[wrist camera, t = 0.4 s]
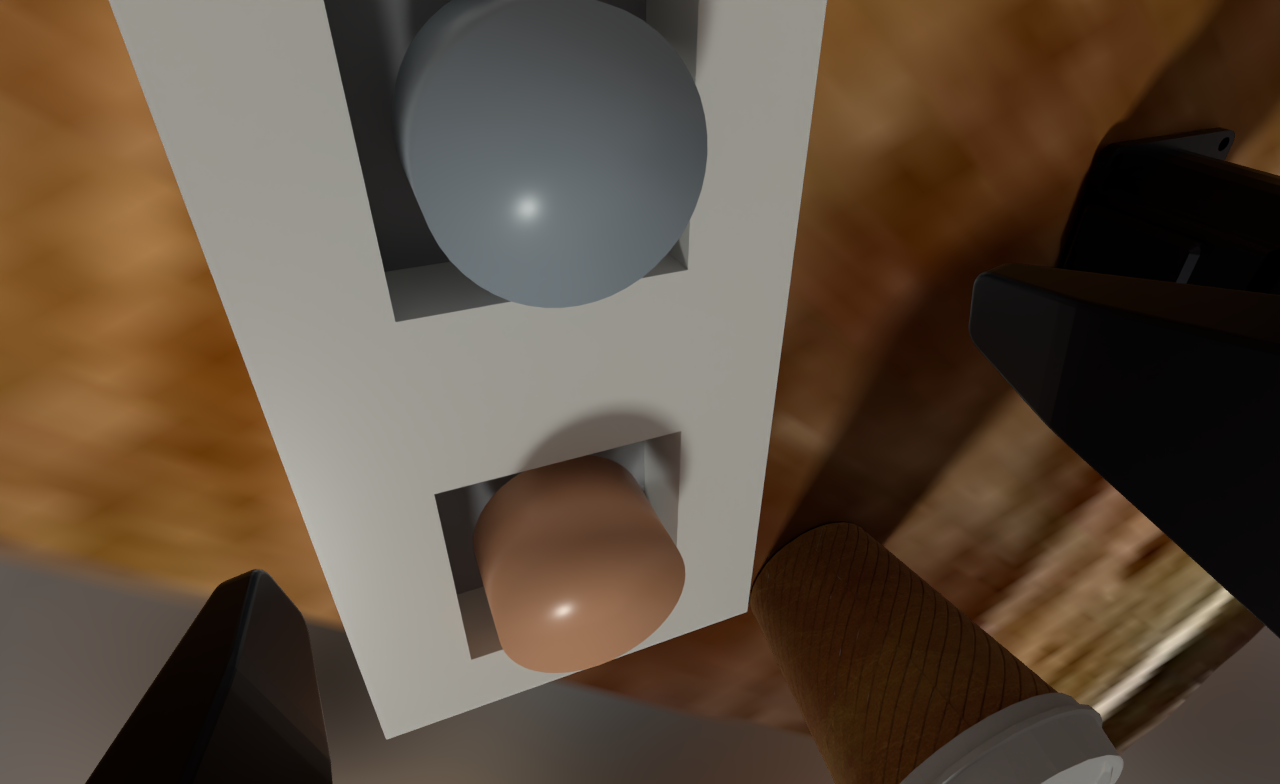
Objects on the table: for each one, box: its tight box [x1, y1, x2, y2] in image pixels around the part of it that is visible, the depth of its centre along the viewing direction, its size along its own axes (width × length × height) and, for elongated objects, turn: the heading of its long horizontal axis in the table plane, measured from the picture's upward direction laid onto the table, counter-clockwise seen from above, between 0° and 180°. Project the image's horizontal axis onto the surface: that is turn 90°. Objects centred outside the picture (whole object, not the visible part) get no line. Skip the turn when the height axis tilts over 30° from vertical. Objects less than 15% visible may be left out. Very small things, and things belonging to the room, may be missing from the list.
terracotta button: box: [473, 455, 685, 673], centre depth 19 cm, size 5×5×3 cm
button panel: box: [109, 0, 827, 739], centre depth 18 cm, size 12×22×4 cm, turn 179°
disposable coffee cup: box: [750, 522, 1123, 784], centre depth 28 cm, size 10×10×12 cm
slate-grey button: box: [392, 0, 707, 308], centre depth 13 cm, size 5×5×3 cm
